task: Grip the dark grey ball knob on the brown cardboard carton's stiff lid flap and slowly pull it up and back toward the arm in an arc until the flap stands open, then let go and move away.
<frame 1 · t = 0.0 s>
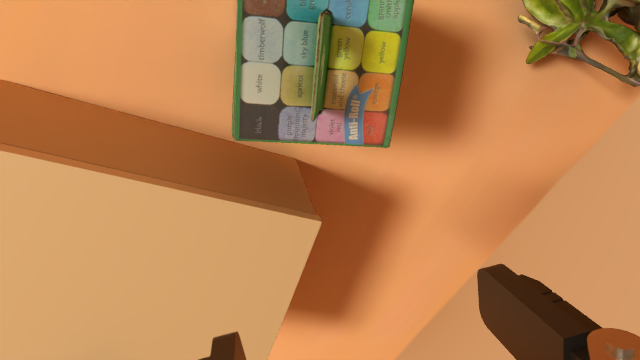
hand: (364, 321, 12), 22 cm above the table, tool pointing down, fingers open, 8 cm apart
green leafy plant: (561, 12, 33), on the table
chalk box: (295, 44, 30), on the table
carton: (145, 210, 33), on the table
carton flap: (93, 325, 21), point 13 cm above the table, hinge at 0.0°
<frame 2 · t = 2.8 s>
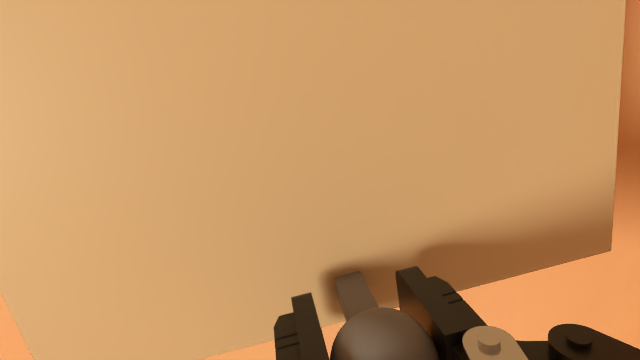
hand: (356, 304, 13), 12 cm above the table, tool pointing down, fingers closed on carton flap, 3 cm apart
carton flap: (333, 125, 10), point 13 cm above the table, hinge at 0.0°, touching gripper
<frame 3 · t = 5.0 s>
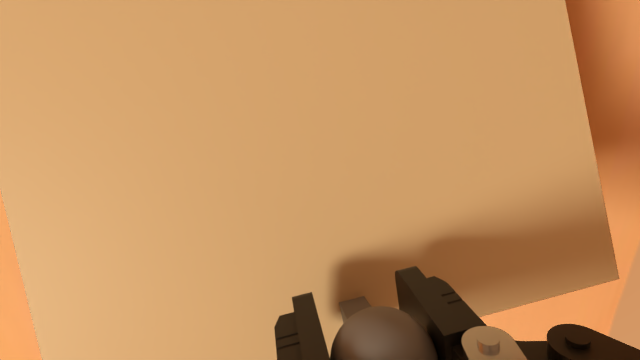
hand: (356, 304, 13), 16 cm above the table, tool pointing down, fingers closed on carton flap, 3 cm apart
carton flap: (326, 140, 12), point 15 cm above the table, hinge at 16.0°, touching gripper
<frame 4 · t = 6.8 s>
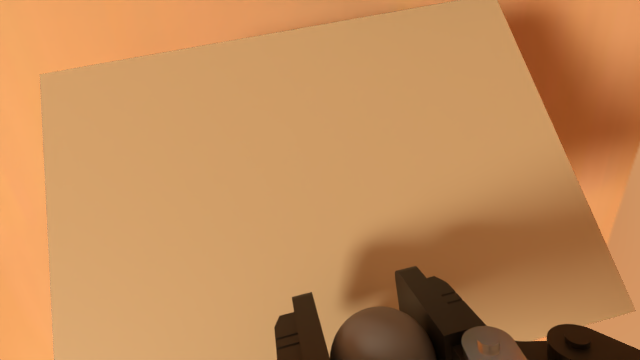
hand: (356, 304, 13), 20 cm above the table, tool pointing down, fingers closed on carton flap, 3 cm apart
carton flap: (324, 168, 14), point 17 cm above the table, hinge at 33.9°, touching gripper
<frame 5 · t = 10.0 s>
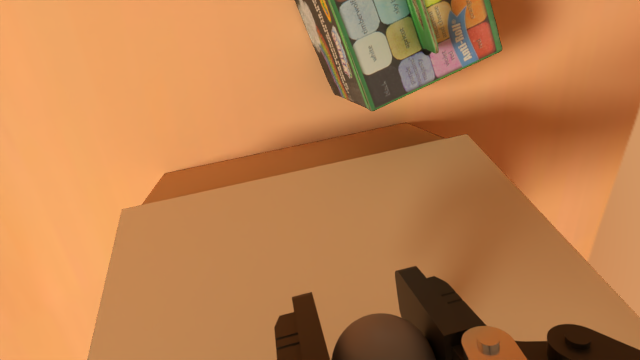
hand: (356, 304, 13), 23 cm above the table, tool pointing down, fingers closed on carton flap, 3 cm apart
chalk box: (360, 25, 33), on the table
carton: (305, 227, 37), on the table
carton flap: (331, 238, 17), point 19 cm above the table, hinge at 67.6°, touching gripper
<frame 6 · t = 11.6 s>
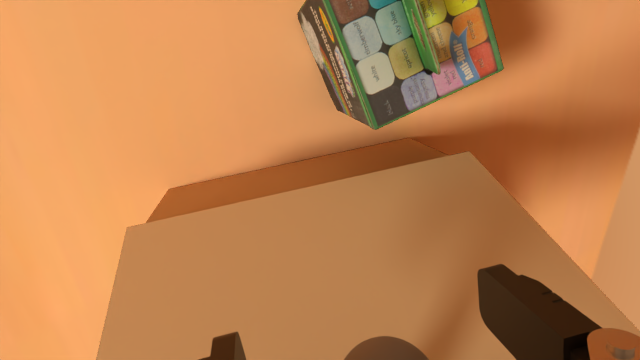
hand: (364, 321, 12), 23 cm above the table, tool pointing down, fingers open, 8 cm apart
chalk box: (363, 42, 33), on the table
carton: (309, 241, 37), on the table
carton flap: (335, 258, 17), point 19 cm above the table, hinge at 68.1°
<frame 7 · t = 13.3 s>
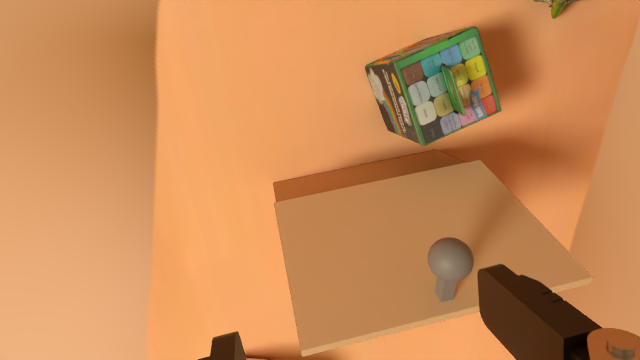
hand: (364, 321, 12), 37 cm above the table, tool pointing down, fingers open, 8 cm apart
chalk box: (407, 85, 49), on the table
carton: (364, 222, 53), on the table
carton flap: (411, 214, 33), point 19 cm above the table, hinge at 68.1°
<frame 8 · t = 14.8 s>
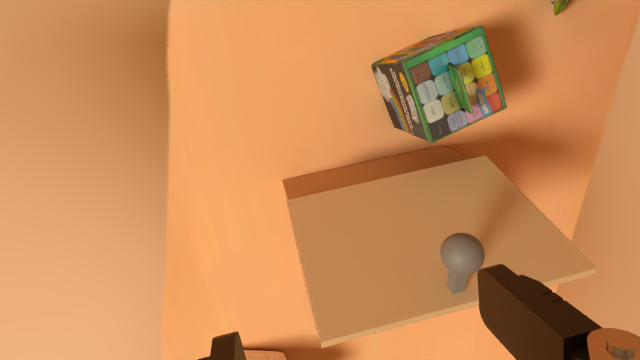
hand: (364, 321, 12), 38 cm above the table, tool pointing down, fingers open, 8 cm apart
chalk box: (412, 82, 50), on the table
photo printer: (251, 359, 57), on the table
carton: (371, 216, 54), on the table
carton flap: (422, 210, 34), point 19 cm above the table, hinge at 68.1°
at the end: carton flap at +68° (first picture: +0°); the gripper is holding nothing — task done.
